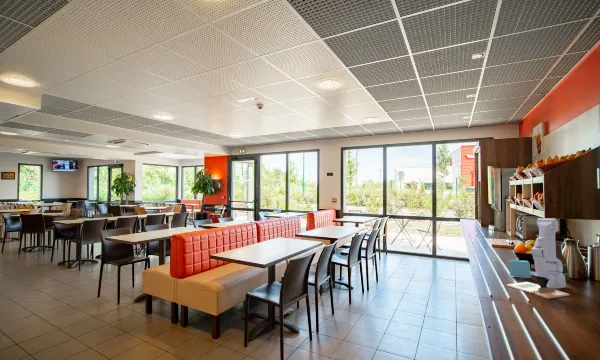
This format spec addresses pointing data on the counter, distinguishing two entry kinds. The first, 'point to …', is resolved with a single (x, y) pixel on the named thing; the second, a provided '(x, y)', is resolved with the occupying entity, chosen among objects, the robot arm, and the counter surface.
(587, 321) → the counter surface
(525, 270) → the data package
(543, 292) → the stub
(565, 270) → the beer bottle
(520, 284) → the board
